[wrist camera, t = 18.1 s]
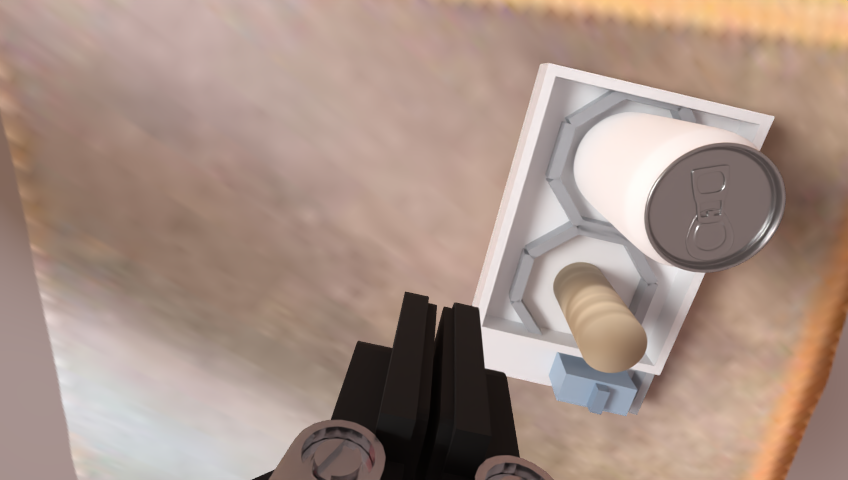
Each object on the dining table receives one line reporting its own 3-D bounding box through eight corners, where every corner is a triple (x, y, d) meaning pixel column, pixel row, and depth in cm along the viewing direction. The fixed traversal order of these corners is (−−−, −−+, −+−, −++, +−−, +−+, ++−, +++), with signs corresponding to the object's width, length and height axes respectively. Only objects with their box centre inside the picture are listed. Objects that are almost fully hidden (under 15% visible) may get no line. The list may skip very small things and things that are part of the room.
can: (575, 217, 33) (637, 291, 22) (567, 120, 31) (630, 146, 20) (675, 202, 32) (793, 271, 21) (673, 102, 31) (802, 118, 19)
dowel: (561, 257, 34) (592, 309, 27) (612, 268, 34) (657, 323, 27) (546, 302, 35) (571, 365, 28) (595, 313, 35) (634, 378, 28)
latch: (557, 350, 36) (568, 380, 33) (623, 365, 36) (641, 397, 33) (548, 375, 37) (558, 407, 34) (613, 390, 37) (630, 423, 34)
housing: (540, 64, 31) (548, 63, 28) (746, 112, 31) (774, 116, 29) (457, 357, 38) (457, 380, 35) (625, 396, 38) (639, 421, 36)
